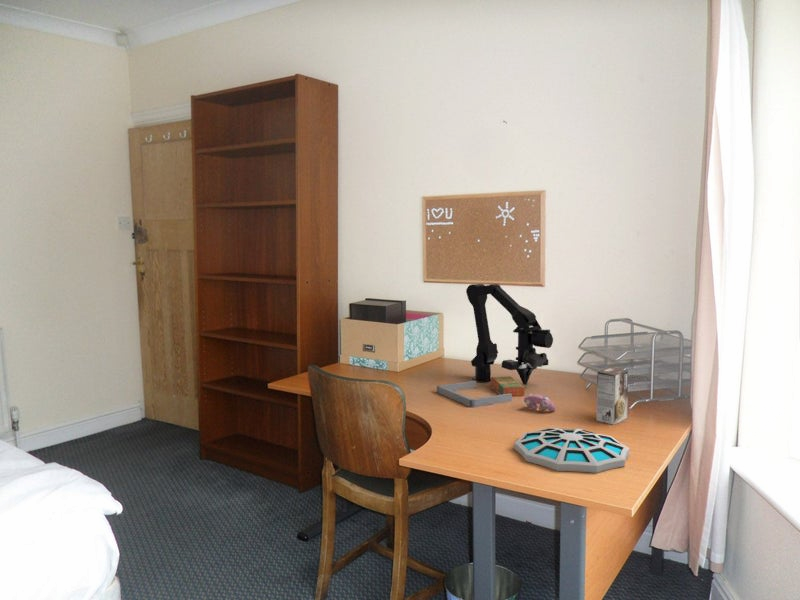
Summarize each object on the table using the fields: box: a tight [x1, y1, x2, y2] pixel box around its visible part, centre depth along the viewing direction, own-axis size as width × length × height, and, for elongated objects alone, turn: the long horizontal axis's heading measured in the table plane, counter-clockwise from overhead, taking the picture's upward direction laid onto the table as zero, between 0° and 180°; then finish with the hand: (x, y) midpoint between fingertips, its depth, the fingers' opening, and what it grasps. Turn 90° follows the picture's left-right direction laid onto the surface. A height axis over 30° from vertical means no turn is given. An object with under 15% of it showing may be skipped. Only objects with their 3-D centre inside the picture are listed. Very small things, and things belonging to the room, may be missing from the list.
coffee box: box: [596, 366, 629, 426], centre depth 196 cm, size 9×6×16 cm
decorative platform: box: [513, 427, 631, 474], centre depth 168 cm, size 31×29×5 cm
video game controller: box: [523, 393, 556, 413], centre depth 208 cm, size 10×5×7 cm, turn 48°
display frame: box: [436, 380, 513, 408], centre depth 226 cm, size 23×17×2 cm
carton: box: [490, 376, 525, 398], centre depth 233 cm, size 8×16×4 cm, turn 8°
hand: (524, 384), depth 237 cm, fingers closed
